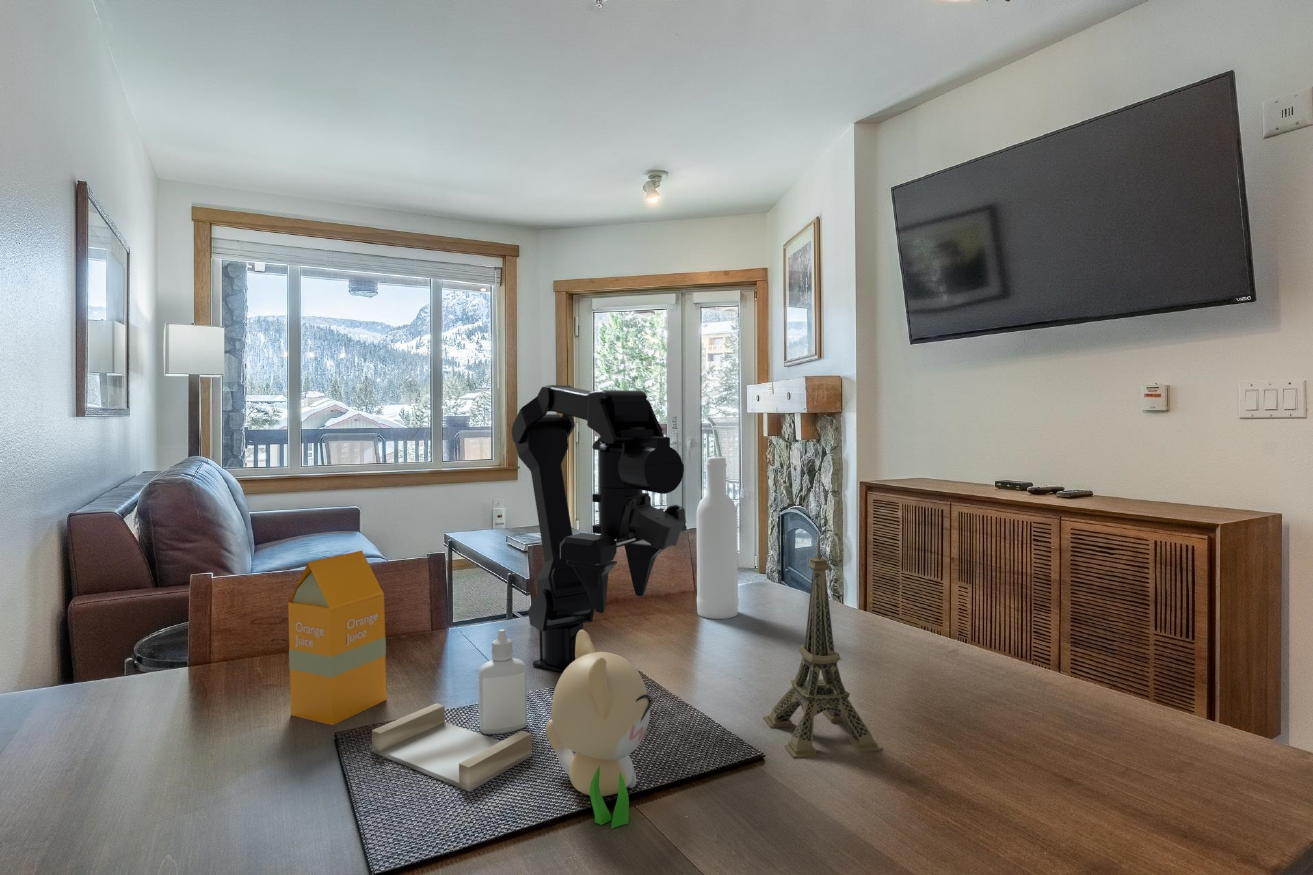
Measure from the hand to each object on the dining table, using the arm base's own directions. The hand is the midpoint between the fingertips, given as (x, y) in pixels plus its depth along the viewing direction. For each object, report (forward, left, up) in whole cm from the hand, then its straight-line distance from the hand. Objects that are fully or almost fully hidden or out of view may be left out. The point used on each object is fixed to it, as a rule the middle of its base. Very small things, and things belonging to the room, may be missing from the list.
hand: (620, 603), depth 93 cm
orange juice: (-31, -21, -13) cm, 39 cm away
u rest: (-8, -22, -13) cm, 27 cm away
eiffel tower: (+25, +5, -13) cm, 29 cm away
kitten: (+12, -19, -13) cm, 26 cm away
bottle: (-10, +44, -13) cm, 47 cm away
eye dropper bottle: (-8, -14, -13) cm, 21 cm away
